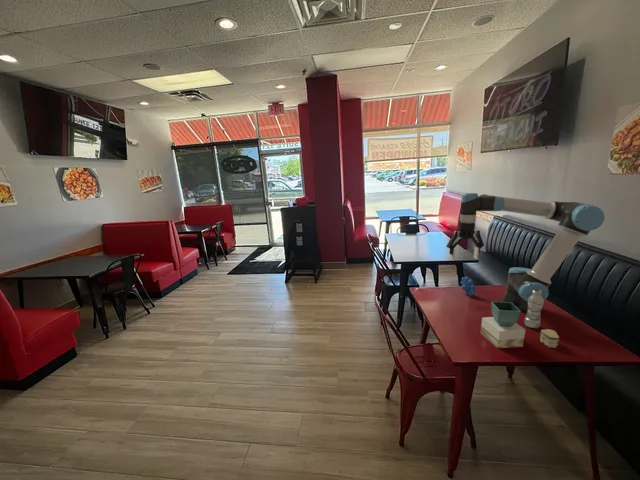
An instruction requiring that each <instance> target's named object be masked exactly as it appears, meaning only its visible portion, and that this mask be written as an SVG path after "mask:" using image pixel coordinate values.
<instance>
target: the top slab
mask: <svg viewBox="0 0 640 480" xmlns="http://www.w3.org/2000/svg"><path fill="white" fill-rule="evenodd" d="M481 326H482V327H483V328H485V329H486V330H487V331H488V332H489V333H491V334H492V335H493V336H494V337H495V338H497V339H498V340H509V339H523V338H524V339H525V334H526V329H525V328H524V327H523V326H521V325H520V324H518V323H517V322H516V323H515V324H514V325H513V326H500V325H499V324H498V323H497V322H496V321H495V319H494V317H493V316H488V317H487V316H486V317H482V318H481ZM481 326H480V327H481Z"/></svg>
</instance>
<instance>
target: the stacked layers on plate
mask: <svg viewBox="0 0 640 480" xmlns="http://www.w3.org/2000/svg"><path fill="white" fill-rule="evenodd" d="M539 339H540V340H539V341H540V343H543V344H544V345H545V346H546V345H547V346H548V347H547V346H546V347H547V348H557V346H559V343H558V342H560V336H559V335H558V334H557V332H556V331H555V330H553V329H549V328H545V329H541V330H540V336H539Z"/></svg>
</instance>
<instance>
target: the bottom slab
mask: <svg viewBox="0 0 640 480" xmlns="http://www.w3.org/2000/svg"><path fill="white" fill-rule="evenodd" d="M480 334H481V335H482V336H483V337H484V338H485V339H486V340H487V341H488V342H490V344H492V345H493V346H494V347H495V348H496V349H504V348H506V349H507V348H509V349H510V348H520V347H521V348H523V347H524V342H525V341H524V340H525V337H524V338H523V339H509V340H498V339H497V338H495V337H494V336H493V335H492V334H491V333H489V332H488V331H487V330H486V329H485V328H483V327H482V326H480Z"/></svg>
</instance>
